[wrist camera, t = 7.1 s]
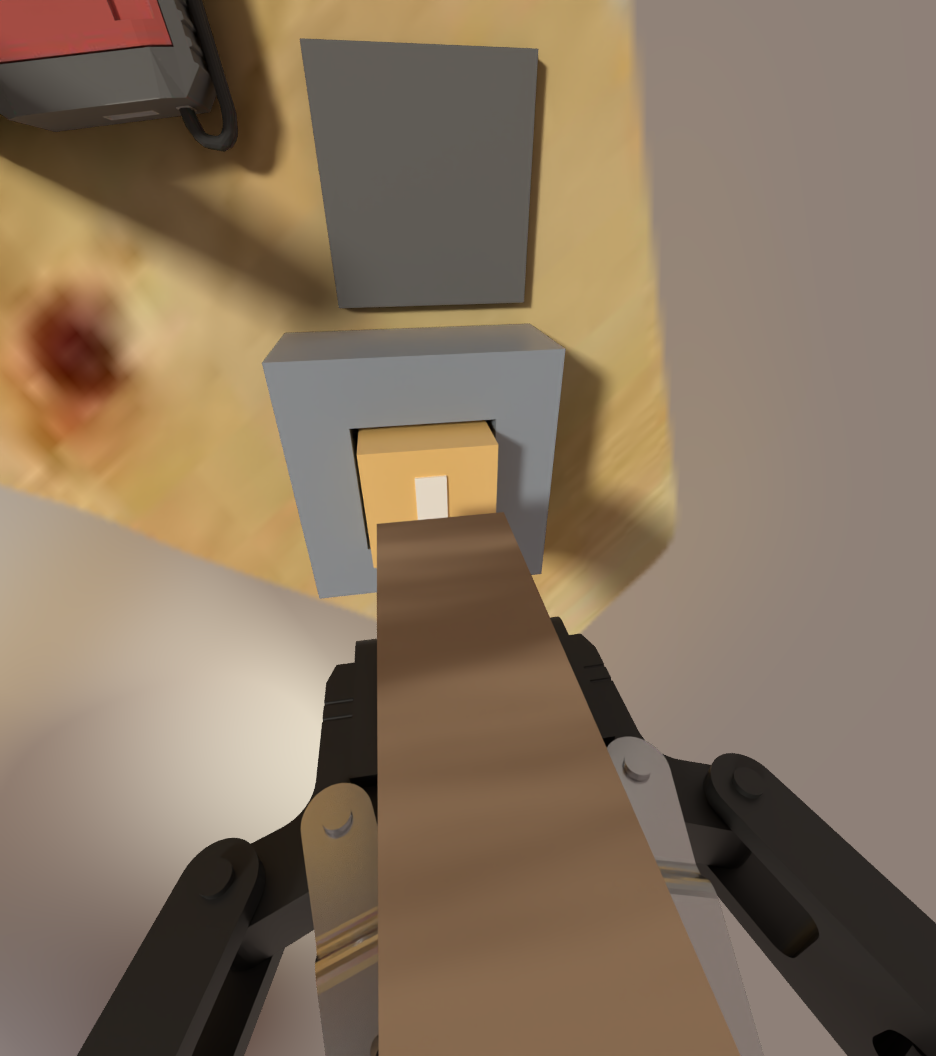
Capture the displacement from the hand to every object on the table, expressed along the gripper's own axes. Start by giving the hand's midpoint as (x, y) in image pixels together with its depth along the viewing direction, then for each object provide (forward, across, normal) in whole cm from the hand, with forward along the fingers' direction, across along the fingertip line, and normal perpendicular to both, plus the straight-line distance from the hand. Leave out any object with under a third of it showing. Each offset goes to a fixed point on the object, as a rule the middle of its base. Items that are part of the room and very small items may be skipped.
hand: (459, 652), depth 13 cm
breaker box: (+14, 0, 0) cm, 14 cm away
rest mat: (+14, -1, -11) cm, 18 cm away
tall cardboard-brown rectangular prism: (+4, 0, 0) cm, 4 cm away
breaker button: (+11, 0, 0) cm, 11 cm away
